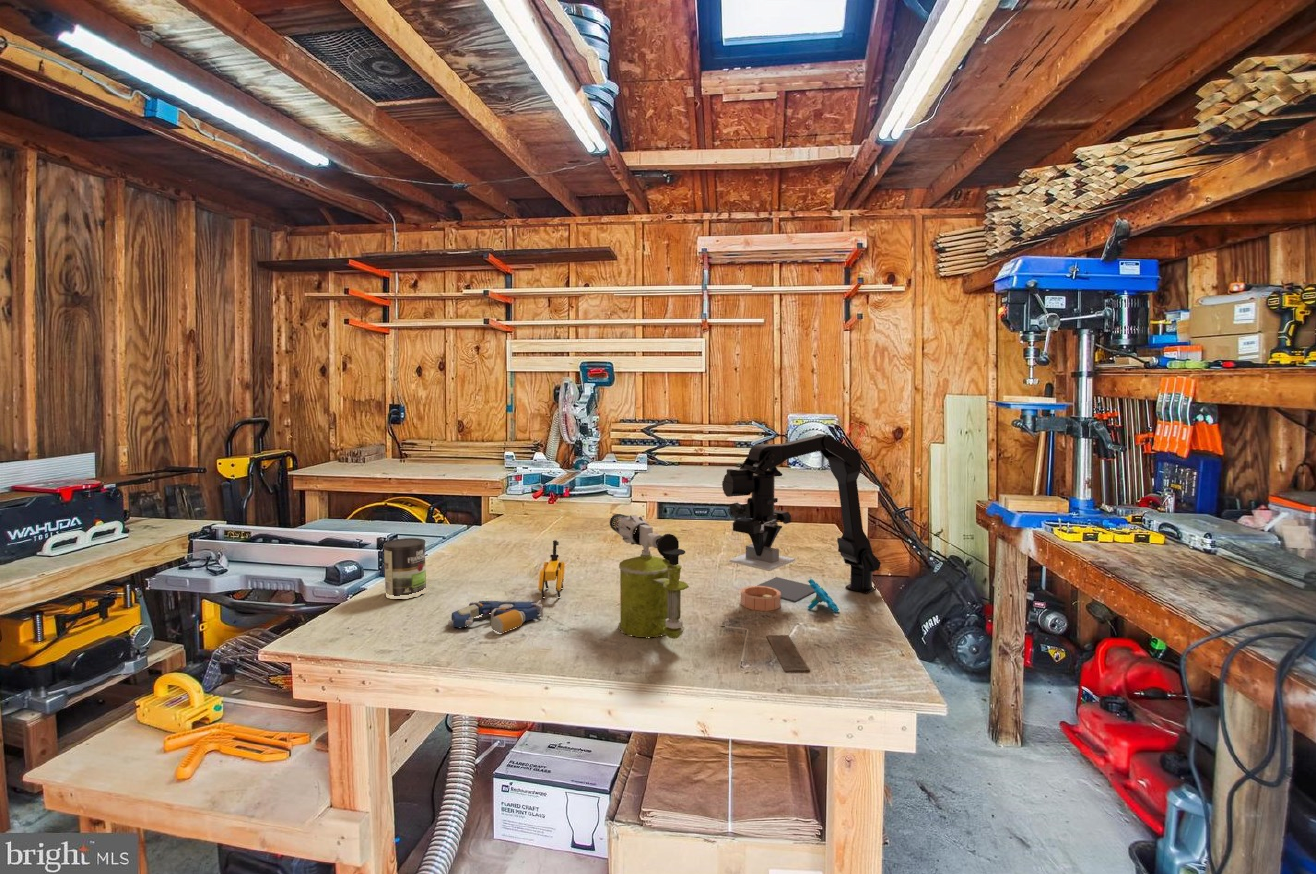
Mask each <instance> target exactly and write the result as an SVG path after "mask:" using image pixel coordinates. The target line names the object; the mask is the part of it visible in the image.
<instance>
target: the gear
mask: <svg viewBox="0 0 1316 874" xmlns="http://www.w3.org/2000/svg"><path fill="white" fill-rule="evenodd" d="M807 582H808V583H809V585H810V586H811V587H812V588H813V589H814V591H815V592H814V593H815V597H814V598H813V599H811V601H810V604H809V605H808V606H807V608H808V609H809V610H810V611H811V610H812V609H814V608H815V607H816V606H817V605H818V604H821V603H822V602H823V603H826V605H827V607H828V608H829V609H830V610H832V611H833V612H834V613H838V612H839V611H840V609H839V607H838V605H837V603H835V601H833V599H832V597H831V596H829V593H828V592H827V591H826V590H825V589H824V588H823V587H821V586H820V585H819V583H818V582H815V580H814V579H811V578H810V579H809V580H808V581H807Z"/></svg>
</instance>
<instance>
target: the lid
mask: <svg viewBox="0 0 1316 874" xmlns="http://www.w3.org/2000/svg"><path fill="white" fill-rule="evenodd" d="M795 561H796V558H793V557H789V556H784V555H780V549H779V548H775V547H772V546H771V547H766V546H764V547H763V551H762V554H761V556H757V555H756V552H755V549H754V546H753V543H751V544H748V545H746V546H745V553H744V554H740V555H739V556H735V557H732V558H729V560H728V562H729V563H733V564H737V565H741V566H745V567H746V566H747V567H750V568H754V569H759V570H762V571H766V572H771V571H774V570H776V569H778V568H781V567H783V566H786V565H789V564H791V563H794V562H795Z"/></svg>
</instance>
